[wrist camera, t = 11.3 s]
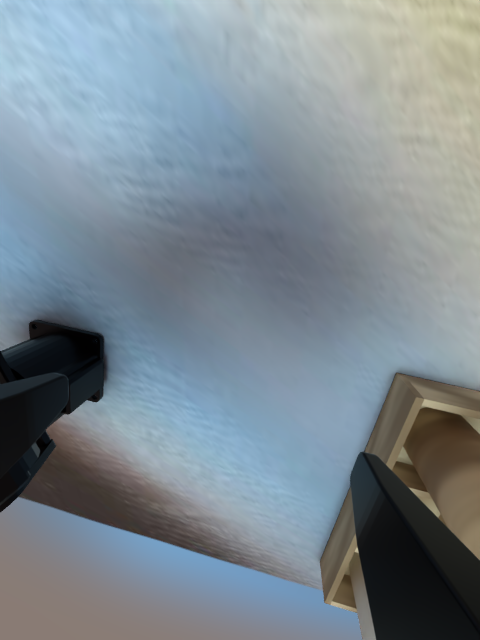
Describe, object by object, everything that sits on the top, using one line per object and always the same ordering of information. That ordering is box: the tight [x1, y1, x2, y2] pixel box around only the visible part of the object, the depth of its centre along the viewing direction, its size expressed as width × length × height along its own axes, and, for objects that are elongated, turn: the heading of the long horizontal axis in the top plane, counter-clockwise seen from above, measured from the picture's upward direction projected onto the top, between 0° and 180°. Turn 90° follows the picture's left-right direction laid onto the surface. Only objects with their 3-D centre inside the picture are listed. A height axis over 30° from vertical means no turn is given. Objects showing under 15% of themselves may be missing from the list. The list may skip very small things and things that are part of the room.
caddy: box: [320, 373, 480, 613], centre depth 22 cm, size 7×21×3 cm, turn 170°
